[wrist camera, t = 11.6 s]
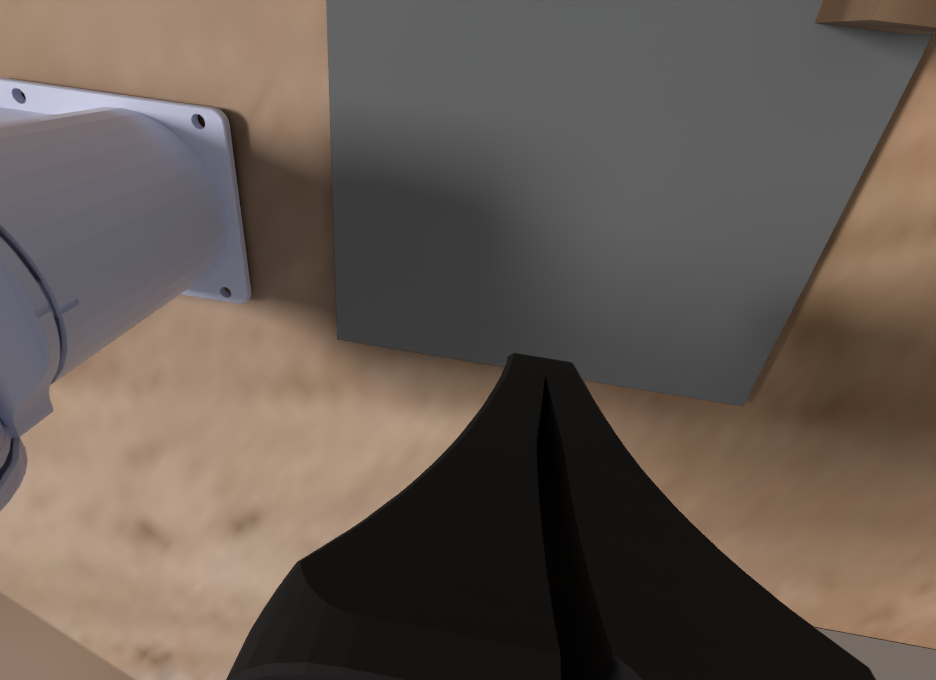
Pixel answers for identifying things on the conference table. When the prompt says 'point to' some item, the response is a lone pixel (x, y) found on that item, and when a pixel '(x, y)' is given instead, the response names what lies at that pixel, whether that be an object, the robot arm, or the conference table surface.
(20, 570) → the conference table surface
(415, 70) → the mat
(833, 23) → the brown cube
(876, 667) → the gray hollow frame
